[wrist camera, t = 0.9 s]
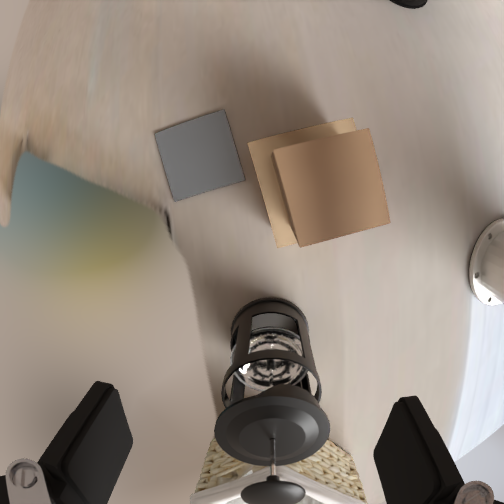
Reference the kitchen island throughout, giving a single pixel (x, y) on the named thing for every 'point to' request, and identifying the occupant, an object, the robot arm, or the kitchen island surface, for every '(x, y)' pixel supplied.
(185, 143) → the coaster
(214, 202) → the kitchen island surface
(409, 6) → the aerosol can
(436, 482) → the robot arm
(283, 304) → the french press
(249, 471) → the storage basket
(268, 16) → the kitchen island surface
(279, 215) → the plinth
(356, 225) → the u-shaped wooden block
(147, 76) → the kitchen island surface
